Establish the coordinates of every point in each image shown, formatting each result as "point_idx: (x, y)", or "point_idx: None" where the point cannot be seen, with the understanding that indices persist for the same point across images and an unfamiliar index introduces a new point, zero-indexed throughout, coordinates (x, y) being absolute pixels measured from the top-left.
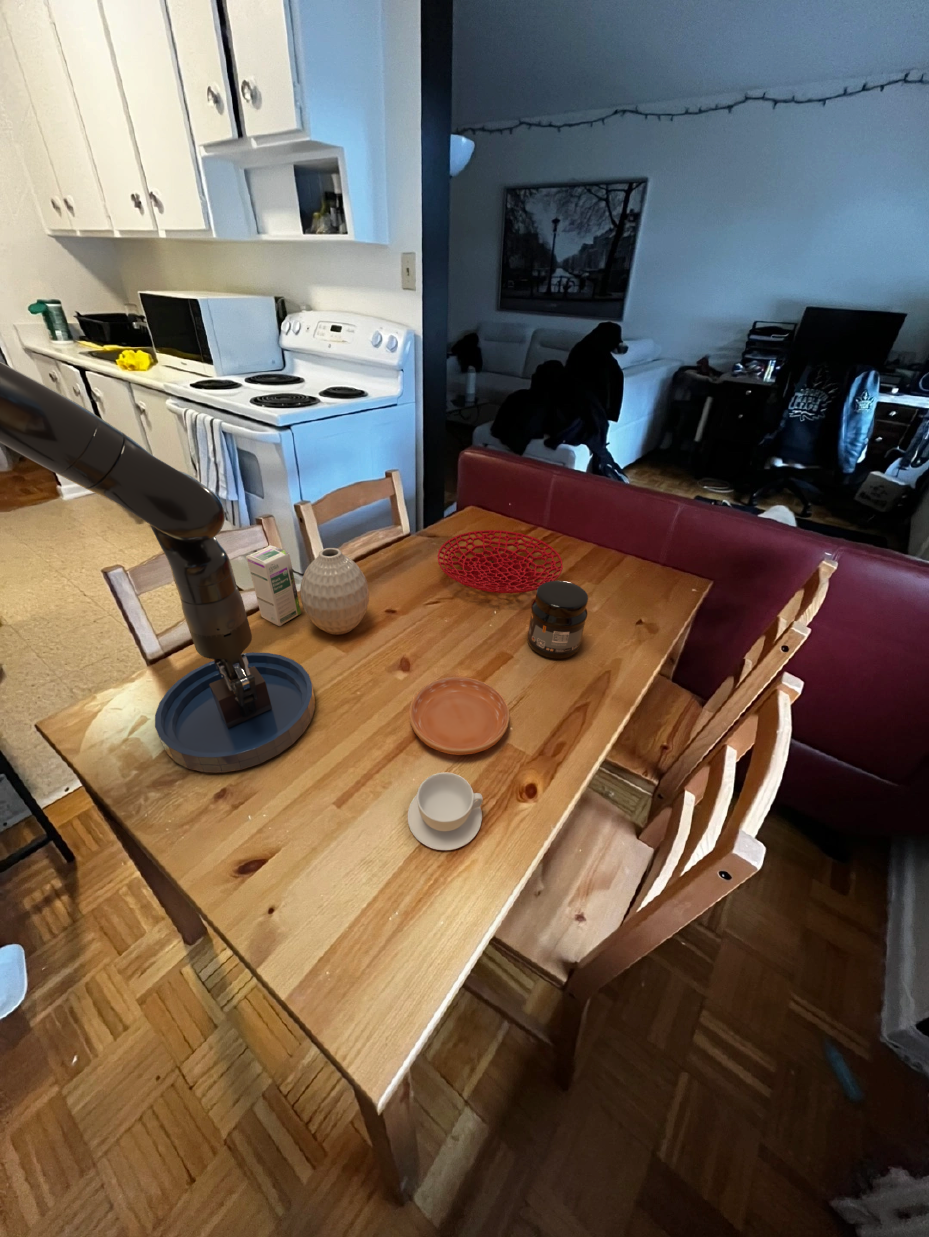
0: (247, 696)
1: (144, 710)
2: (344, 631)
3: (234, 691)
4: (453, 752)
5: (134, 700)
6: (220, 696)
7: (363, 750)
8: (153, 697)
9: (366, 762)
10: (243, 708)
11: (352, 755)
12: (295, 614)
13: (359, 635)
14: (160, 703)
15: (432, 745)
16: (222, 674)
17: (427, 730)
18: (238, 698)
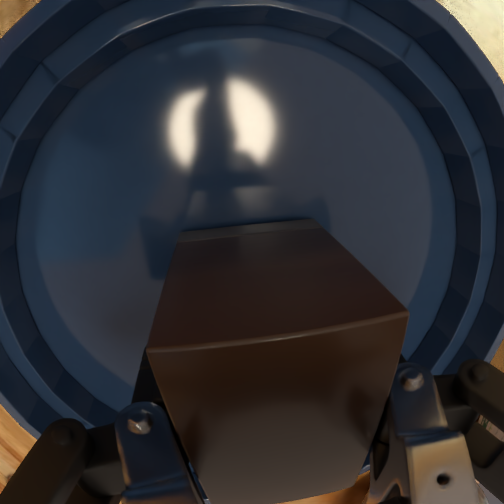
0: (80, 484)
1: (458, 16)
2: (364, 500)
3: (125, 483)
4: None
5: (497, 23)
6: (194, 370)
7: (26, 442)
8: (493, 61)
9: (2, 432)
10: (146, 373)
11: (16, 428)
12: (480, 424)
13: (347, 498)
14: (445, 13)
15: None
16: (410, 409)
17: None
18: (44, 472)
